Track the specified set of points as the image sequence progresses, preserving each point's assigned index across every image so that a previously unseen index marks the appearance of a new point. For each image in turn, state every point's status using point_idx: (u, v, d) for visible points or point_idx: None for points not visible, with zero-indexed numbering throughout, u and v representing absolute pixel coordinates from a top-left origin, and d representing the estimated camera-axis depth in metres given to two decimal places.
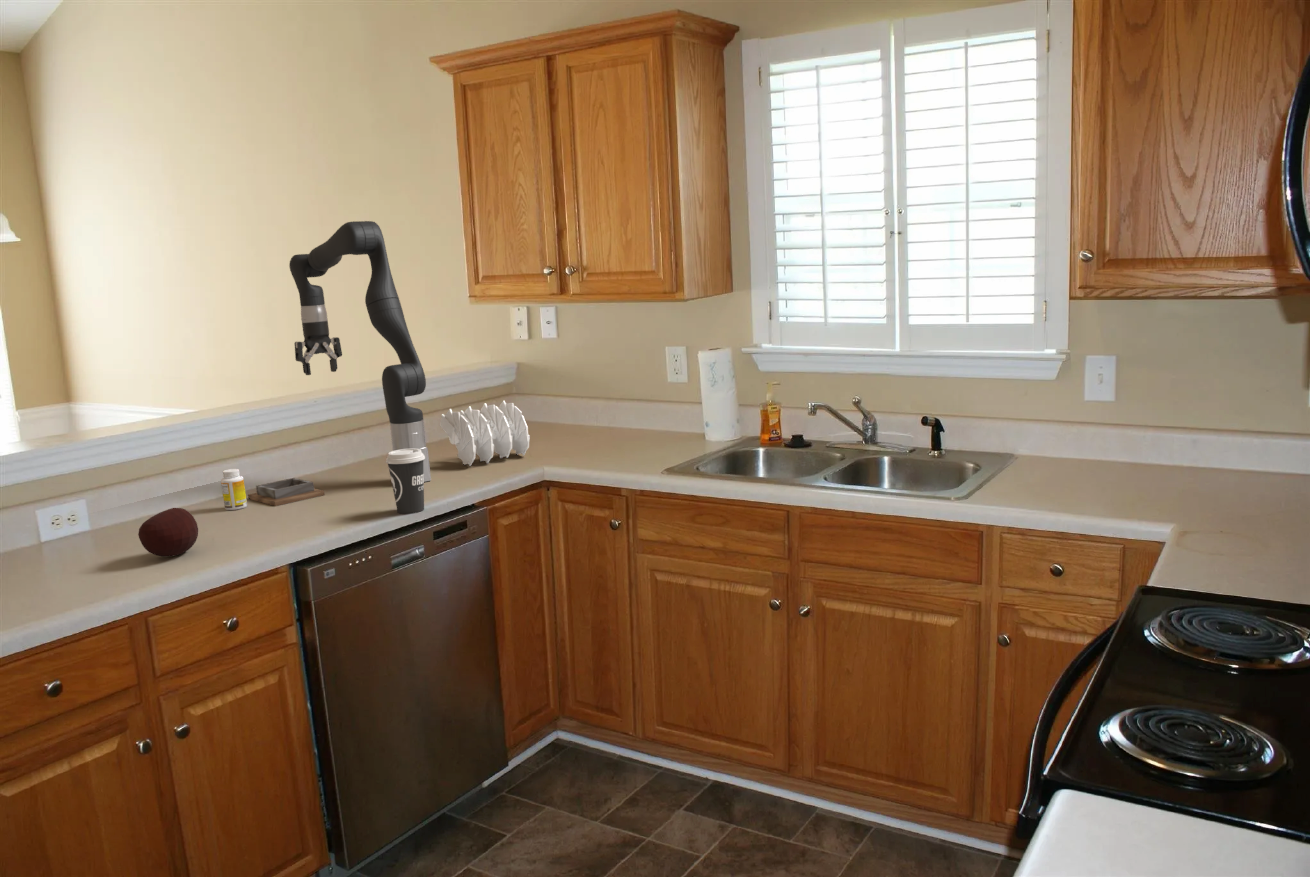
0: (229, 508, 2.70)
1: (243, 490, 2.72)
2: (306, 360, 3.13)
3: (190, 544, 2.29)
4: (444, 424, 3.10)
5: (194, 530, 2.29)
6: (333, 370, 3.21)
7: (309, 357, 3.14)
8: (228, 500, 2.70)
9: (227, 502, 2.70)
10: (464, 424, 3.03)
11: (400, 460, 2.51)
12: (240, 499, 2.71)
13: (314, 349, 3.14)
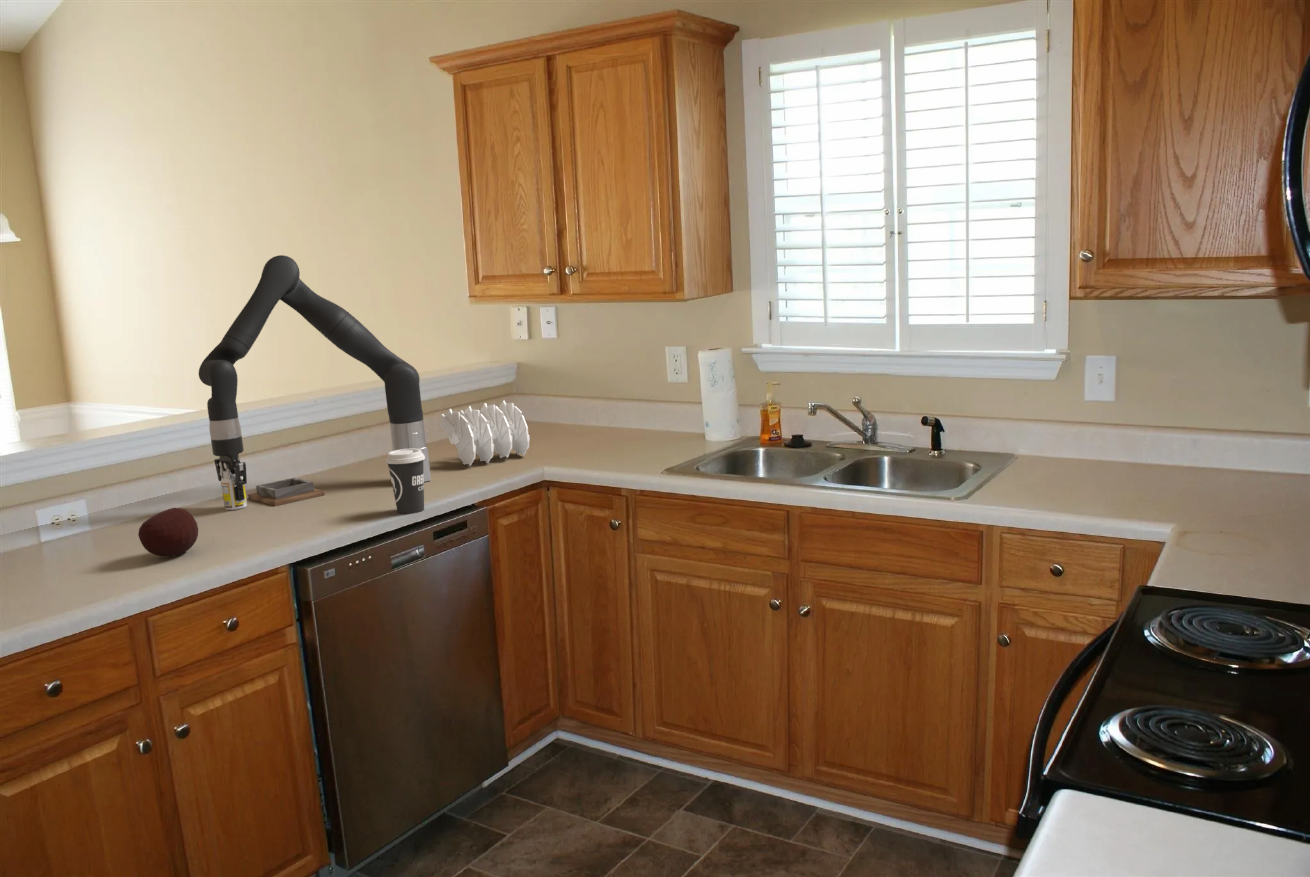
0: (229, 508, 2.70)
1: None
2: None
3: (190, 544, 2.29)
4: (444, 424, 3.10)
5: (194, 530, 2.29)
6: None
7: None
8: (228, 500, 2.70)
9: (227, 501, 2.70)
10: (464, 424, 3.03)
11: (400, 460, 2.51)
12: None
13: None
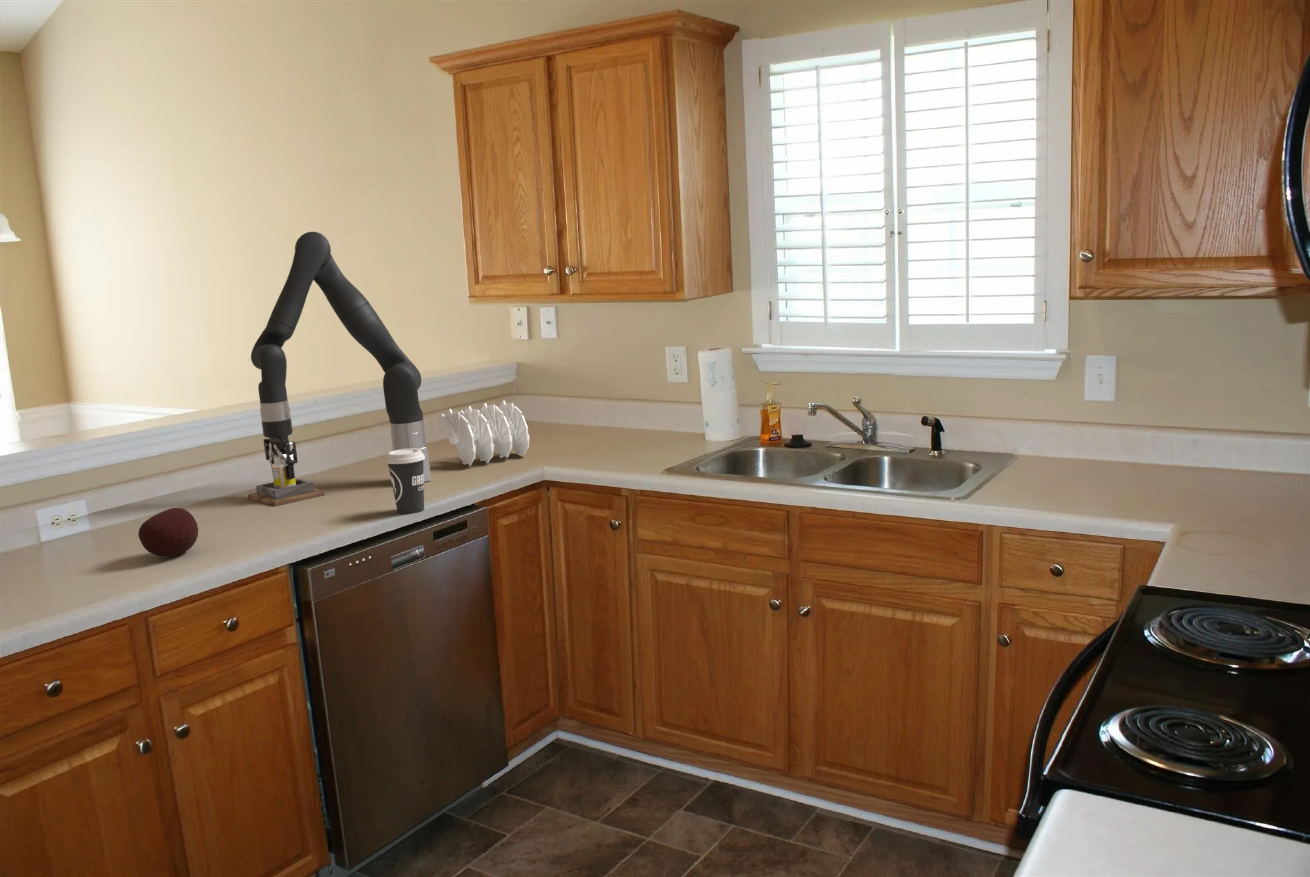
0: None
1: None
2: None
3: (190, 544, 2.29)
4: (444, 424, 3.10)
5: (194, 530, 2.29)
6: None
7: None
8: (279, 485, 2.79)
9: (278, 486, 2.80)
10: (464, 424, 3.03)
11: (400, 460, 2.51)
12: (290, 483, 2.80)
13: None
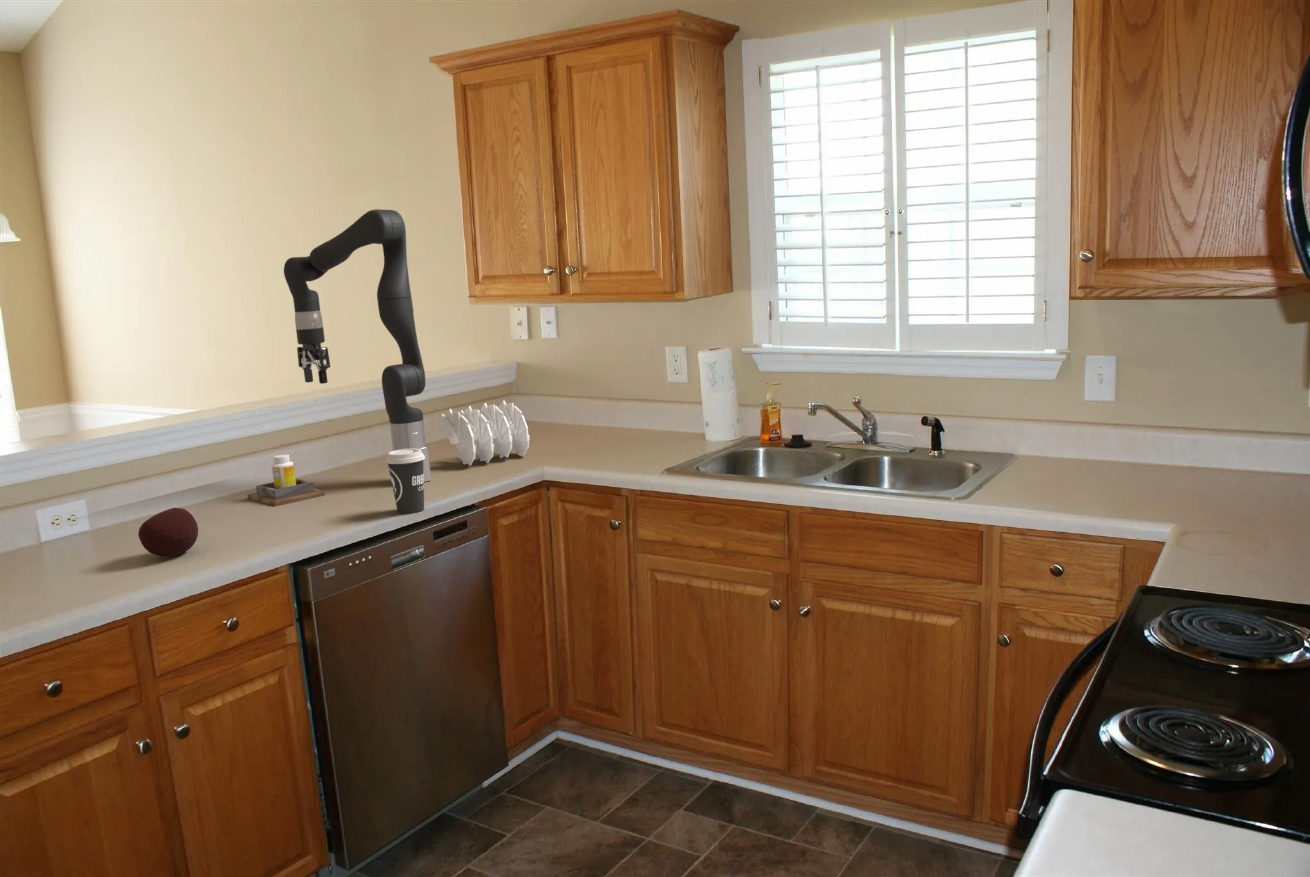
0: None
1: (293, 475, 2.81)
2: None
3: (190, 544, 2.29)
4: (444, 424, 3.10)
5: (194, 530, 2.29)
6: (311, 380, 3.05)
7: None
8: (279, 485, 2.79)
9: (278, 486, 2.80)
10: (464, 424, 3.03)
11: (400, 460, 2.51)
12: (290, 483, 2.80)
13: None
